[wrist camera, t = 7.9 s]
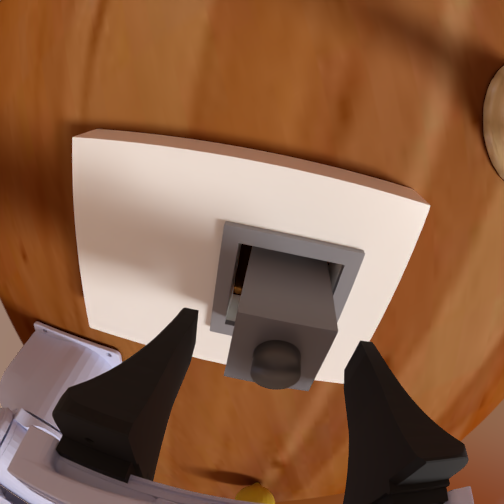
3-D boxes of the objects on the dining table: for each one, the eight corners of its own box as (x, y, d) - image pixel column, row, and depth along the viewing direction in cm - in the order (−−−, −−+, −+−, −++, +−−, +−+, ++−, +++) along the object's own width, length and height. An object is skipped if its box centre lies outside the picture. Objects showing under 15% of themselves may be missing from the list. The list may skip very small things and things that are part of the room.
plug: (243, 289, 20) (220, 392, 13) (255, 232, 18) (233, 329, 11) (305, 301, 20) (308, 408, 13) (324, 247, 18) (340, 349, 11)
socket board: (104, 306, 22) (87, 330, 20) (97, 128, 16) (67, 138, 13) (341, 357, 22) (345, 388, 20) (413, 189, 16) (433, 208, 13)
